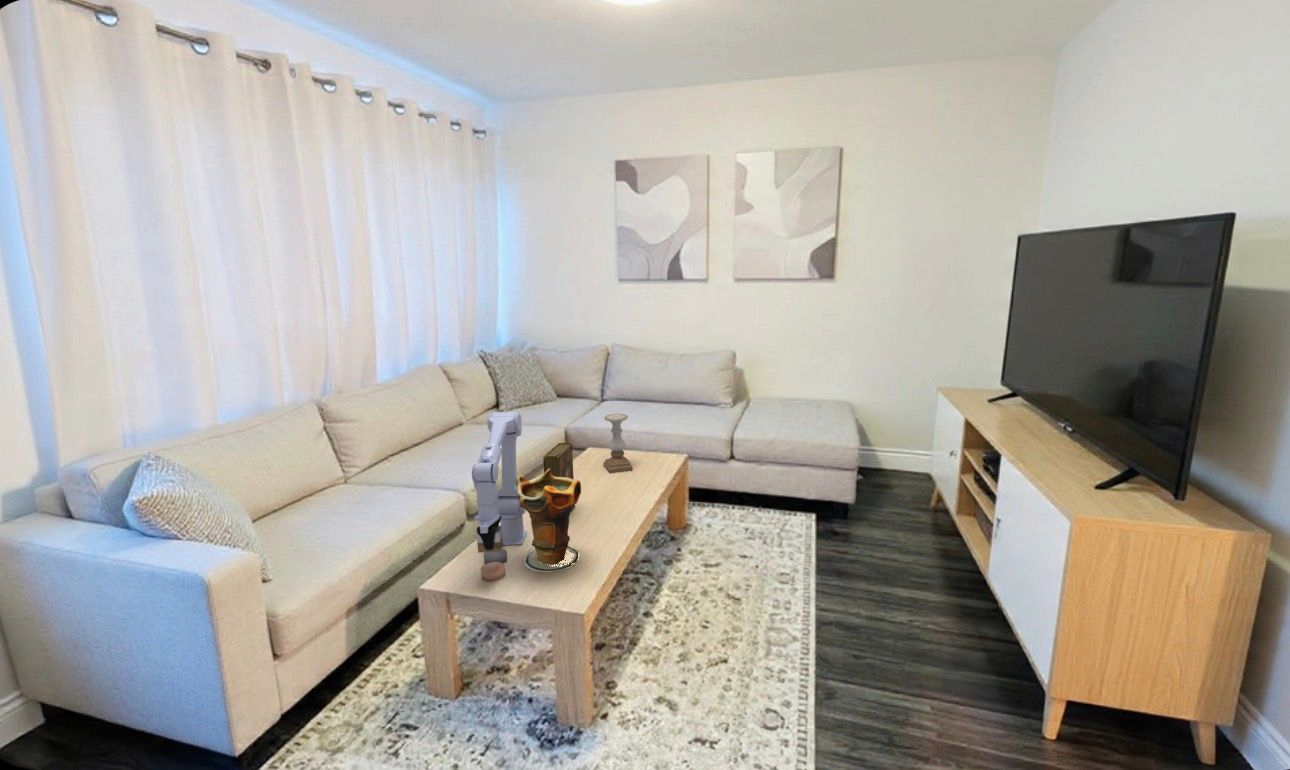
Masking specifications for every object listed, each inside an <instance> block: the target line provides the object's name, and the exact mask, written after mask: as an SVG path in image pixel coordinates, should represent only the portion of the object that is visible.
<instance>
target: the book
mask: <svg viewBox="0 0 1290 770" xmlns="http://www.w3.org/2000/svg"><path fill="white" fill-rule="evenodd" d="M573 460H574V459H573V444H572V443H571V442H570V443H569V442H560V443H557V444H556V445H555V446H553V447H552V448H551V449H550V450H549V451H548V452H546V453H545V454H544V455H543V474H544V473H545V472H546V471H547V470H548V469H550V468H551V473H552V475H553V476H555V477H566V478H570V479H573V480H575V477H574V461H573ZM575 508H576V504H575V505H573V506H572V508H571V513H572V512H573V511H574V510H575Z"/></svg>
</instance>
